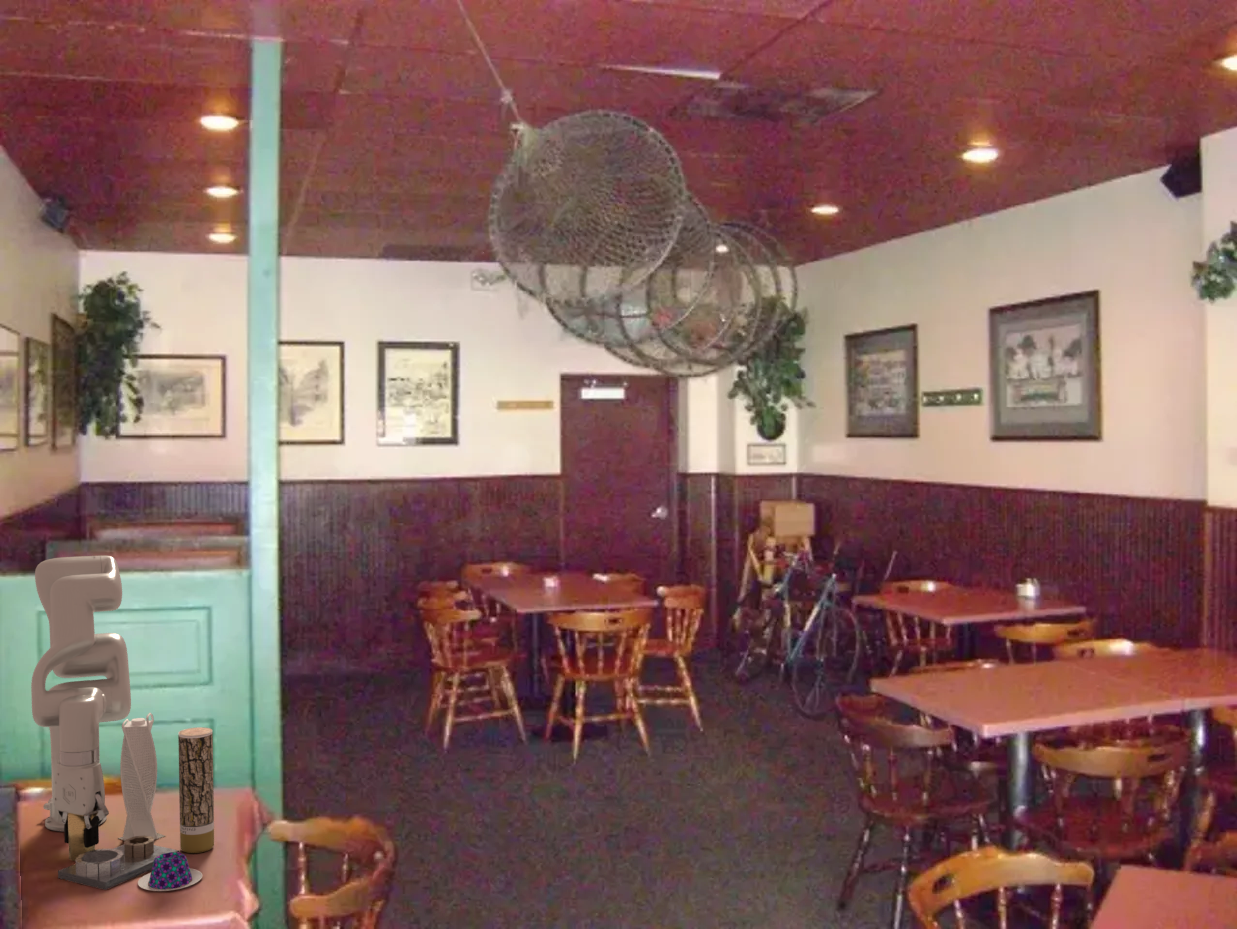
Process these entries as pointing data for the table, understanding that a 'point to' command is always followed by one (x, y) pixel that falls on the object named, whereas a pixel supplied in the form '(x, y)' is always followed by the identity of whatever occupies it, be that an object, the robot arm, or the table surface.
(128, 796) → the skyscraper
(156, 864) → the pudding
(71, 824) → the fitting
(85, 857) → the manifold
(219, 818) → the table surface
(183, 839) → the paper tube
